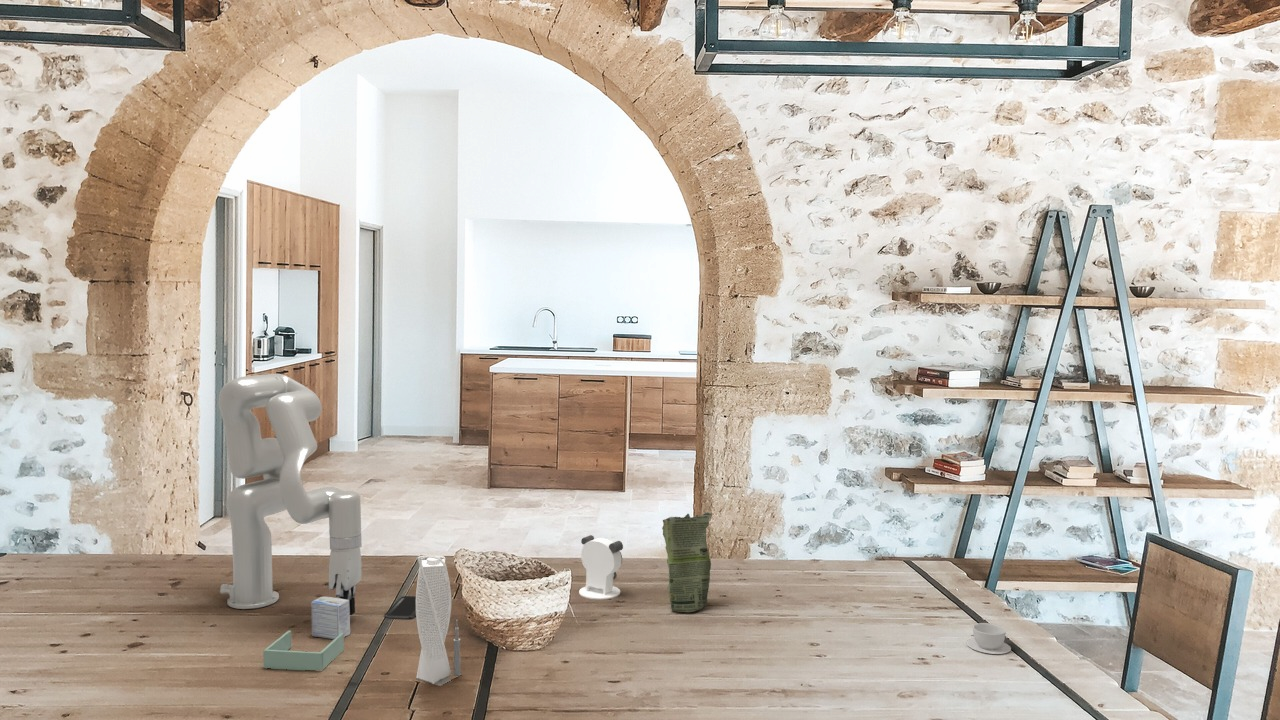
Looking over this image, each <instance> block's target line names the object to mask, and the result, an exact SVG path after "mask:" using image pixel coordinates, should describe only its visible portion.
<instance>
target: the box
mask: <svg viewBox="0 0 1280 720" xmlns="http://www.w3.org/2000/svg"><path fill="white" fill-rule="evenodd" d="M344 640H345V637H344V633H341V634H340V635H338V636H337V637H336V638H335V639H332V641H330V643H329V644H327V646H325V647H324V648H323V649H322V650H321V651H320V652H319V651H304V650H303V651H301V650H300V651H299V650H290V649H291V648H292V630H287V631H286V632H285V633H283V634H282V635H281V636H280V637H279V638H277V639H276V640H275V641H273V642H272V643H271V644H270V645H268V646H267V647H266V648H265V649H264V650H262V651H263V652H262V654H263V655H262V656H263V659H262V660H263V669H267V668H271V670H273V669H274V670H286V669H287V670H289V671H305V670H323V669H324V668H325V667H326V666H327V665H328V664H329V663H330V662H331V661H332V662H333V661H334V660H335V659H336V658H337V657H338V656H339V655H340V654H342V652H344V650H345V641H344ZM334 658H335V659H334ZM332 662H331V663H332ZM331 663H330V664H331ZM330 664H329V665H330ZM329 665H328V666H329ZM328 666H327V667H328ZM327 667H326V668H327ZM326 668H325V669H326ZM325 669H324V670H325ZM287 670H286V671H287ZM324 670H323V671H324Z"/></svg>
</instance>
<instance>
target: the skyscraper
mask: <svg viewBox="0 0 1280 720" xmlns="http://www.w3.org/2000/svg"><path fill="white" fill-rule="evenodd" d="M416 559H417V562H418V564H419V568H418V575H417V582H416V588H415V589H416V590H415V596H416V617H415V619H416V624H417V625H416V626H417V632H418V633H417V634H418V637H419V641H420V642H419V643H420V646H421V650H420V655H419V661H418V666H417V670H416V671H417V672H416V680H420V681H422V682H425V683H428V684H431V685H434V686H438V687H442V686H444V685H446V684H448V683H450V682H452V681H451V680H450V678H448V676H449V675H452V674H451V671H453V675H454V676H460V675H461V674H462V672H461V671H462V670H461V667H462V658H461V652H460V651H461V638H459V632H460V631H459V630H460V628H459V626H458V622H459V621H458V619H456V620H455V627H454V635H455V637H454V639H452V640H453V641H452V642H453V658H452V667H453V670H451V666H450V662H449V658H448V654H447V650H446V646H445V642H446V637H447V634H448V630H449V626H450V620H451V613H452V591H451V582H450V578H449V572H448V567H447V564H446V559H447V558H446V557H445V556H444V555H439V554H438V555H437V554H436V555H430V554H424V555H419V556H418V557H416ZM449 677H451V676H449ZM452 677H453V676H452ZM460 677H461V676H460ZM449 681H450V682H449ZM447 682H448V683H447ZM445 683H446V684H445ZM443 684H444V685H443Z"/></svg>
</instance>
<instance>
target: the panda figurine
mask: <svg viewBox="0 0 1280 720" xmlns="http://www.w3.org/2000/svg"><path fill="white" fill-rule="evenodd" d="M580 542H581V544H582V546H583V547H582V549H581V553H580V558H581V563H582V566H583V567H584V569H585V574H586V575H585V576H586V577H585V586H583V587H581V588H580V589H579V591H578V594H579V595H580V596H581V597H583V598H585V599H591V600H609V599H613V598H616V597H618V596H620V594H621V589H620V588H618V587H617V586H615V585H614V581H615V580H616V579H617V576H618V574H617V571H618V570H619V569H620V568H621V565H622V564H623V555H622V552H621V551H622V550H623V549H624V544H623V543H622V541H620V540H617V541H612V540H610V539H607V538H604V537H603V538H602V537H597V538H595V536H594V535H591V534H590V535H587V536H584V537H583V538H581V541H580Z"/></svg>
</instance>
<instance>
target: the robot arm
mask: <svg viewBox="0 0 1280 720" xmlns="http://www.w3.org/2000/svg"><path fill="white" fill-rule="evenodd" d="M218 408H219V412H220V415H221V418H222V422H223V427H224V431H225V433H224V434H225V441H226V442H225V443H226V449H227V450H226V451H227V458H228V466H229V469H230V472H231V475H232V476H233V477H235V478H237V479H241V480H242V479H243V480H245V479H250V478H256V477H260V476H263V477H262V478H263V479H262V480H257V481H253V482H252V481H251V482H247V483H245V484H241V485H239V486H236V487H234V488H233V489H232V491H230V493H229V494H228V496H227V500H226V507H227V512H228V515H229V521H230V527H231V528H230V529H231V541H232V543H231V544H232V577H233V579H232V581H233V582H232V584H228V583H222V584H221V585H220V590H219V593H220V594H221V595H227V594H228V595H229V597H228V598H227V601H226V602H227V605H228V606H229V607H230V608H232V609H238V610H240V609H241V610H251V609H252V610H253V609H261V608H263V607H268V606H271V605H273V604H275V603H276V602H278V600H279V599H280V594H279V592H277V591H275V590H273V589H274V588H273V552H272V550H273V548H272V545H273V544H272V543H273V542H272V532H271V529H270V527H269V526H268V524H267V522H266V521H265V519H264V518H265V517H268V516H272V515H275V514H279V513H281V512H284V511H287V513H288V514H289V516H290V518H291V519H292V520H293V521H294V522H295V523H296V524H300V525H301V524H302V525H305V524H306V525H307V524H311V523H314V522H317V521H320V520H323V519H324V520H325V519H327V518H328V525H329V527H328V528H329V530H328V531H329V533H328V534H329V549H330V554H329V560H328V562H329V563H328V589H329V590H330V591H334V590H335V598H340V599H346V600H349V607H350V616H353V615H354V614H355V613H356V601H355V600H356V599H355V598H356V597H355V596H356V586H357V585H358V583H359V582H360V581H361V579H362V575H363V573H362V572H363V570H362V569H363V568H362V566H363V565H362V553H361V548H362V546H363V545H362V541H363V540H362V518H361V517H362V515H361V514H362V513H361V512H362V511H361V509H362V508H361V507H362V506H361V495H360V494H359V493H358V492H357V491H353V490H342V489H340V488H337V487H334V486H325V487H322V488H318V489H313V490H309V491H306V490H305V487H304V485H303V481H302V474H301V473H302V469H303V466H304V464H305V462H306V460H307V459H308V458H309V457H310V456H312V455H313V454H314V453H315V452H316V451H317V449H318V442H317V440H316V437H315V435H314V433H313V431H312V429H311V426H310V422H313V421H316V420H317V419H318V418H320V416H321V414H322V410H323V408H322V403H321V400H320V398H319V396H318V395H317V394H316V393H315V392H314V391H313V390H312V389H310V388H309V387H307V386H305V385H303V384H302V383H301V382H298V381H297V380H295V379H293V378H291V377H289V376H288V375H286V374H282V373H268V374H256V375H247V376H241V377H236V378H233V379H231V380H229V381H228V382H226V383H225V384H224V385H223V386H222V388H221V389H220V391H219V395H218ZM259 408H265V411H266V414H267V415H266V416H267V418H268V420H269V423H270V425H271V428H272V431H273V434H274V436H275V437H276V438H275V437H266V438H262V432H261V424H260V422H259V419H258V418H257V416H256V415H255V414H254V412H253V411H251V410H253V409H259ZM318 420H319V419H318Z"/></svg>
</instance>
